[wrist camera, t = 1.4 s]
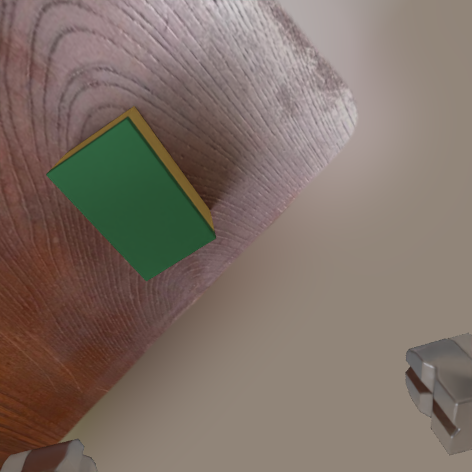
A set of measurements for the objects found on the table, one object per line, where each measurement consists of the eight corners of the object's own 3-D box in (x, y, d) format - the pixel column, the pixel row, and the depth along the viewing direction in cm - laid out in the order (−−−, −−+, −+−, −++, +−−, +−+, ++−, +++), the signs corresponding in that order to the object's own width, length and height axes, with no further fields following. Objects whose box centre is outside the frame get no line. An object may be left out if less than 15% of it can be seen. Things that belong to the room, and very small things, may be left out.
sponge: (65, 153, 22) (45, 174, 18) (134, 105, 21) (126, 118, 18) (149, 249, 26) (146, 281, 22) (210, 210, 25) (216, 238, 21)
